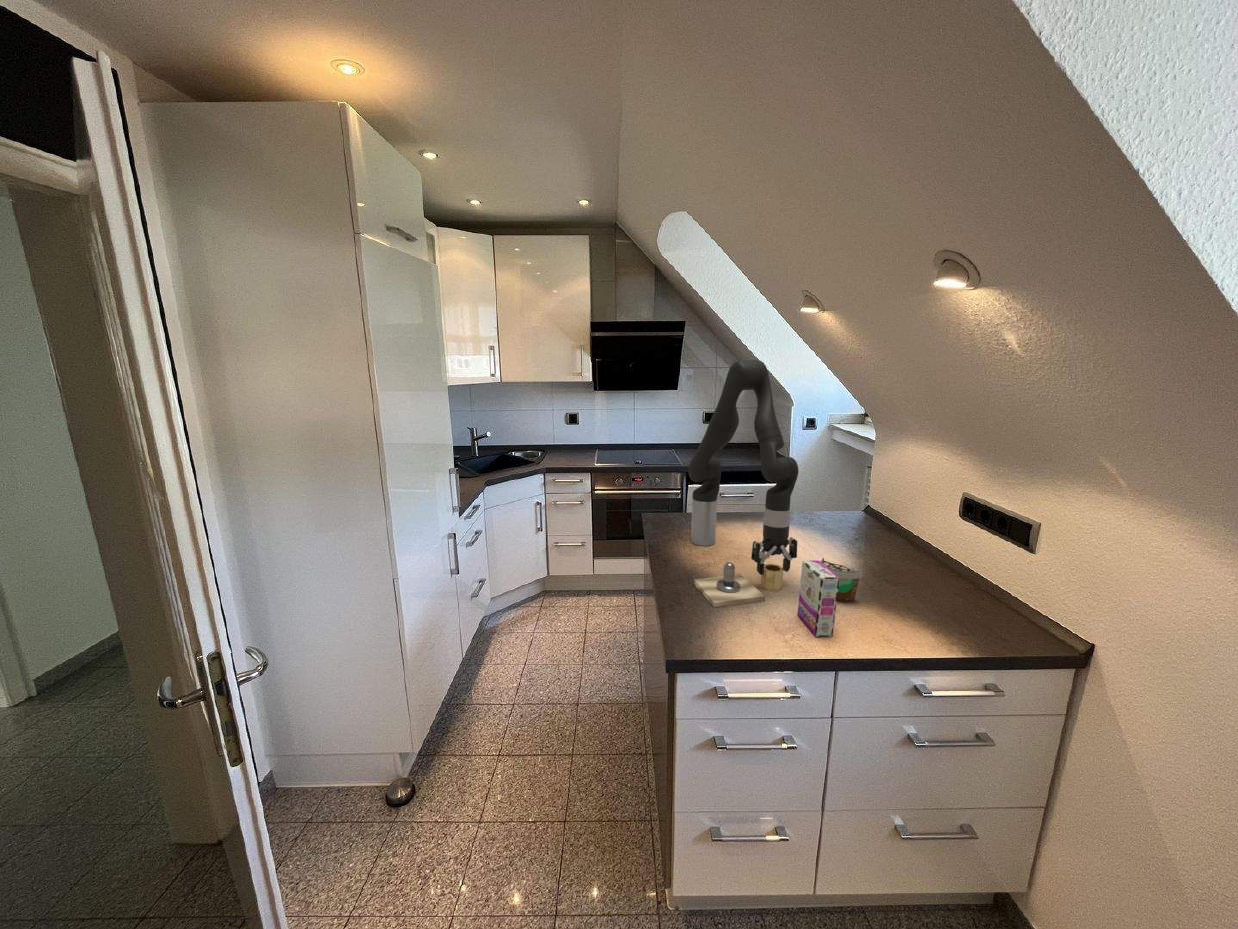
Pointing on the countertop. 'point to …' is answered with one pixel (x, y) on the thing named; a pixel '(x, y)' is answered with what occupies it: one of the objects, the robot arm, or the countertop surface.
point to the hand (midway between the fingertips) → (773, 572)
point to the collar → (772, 577)
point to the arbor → (728, 580)
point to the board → (726, 599)
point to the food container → (845, 581)
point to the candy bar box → (818, 598)
